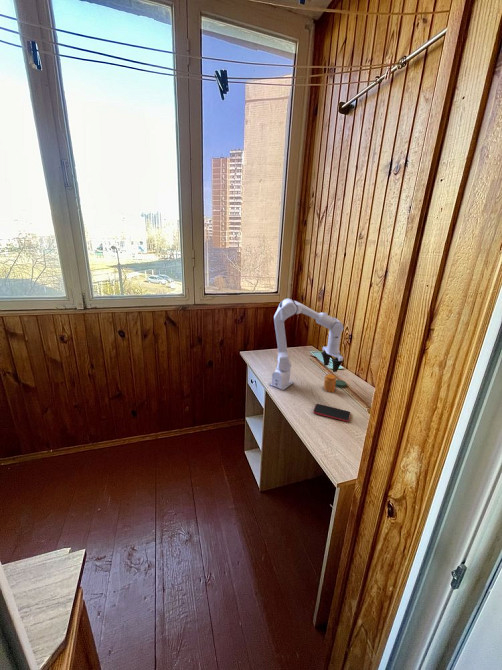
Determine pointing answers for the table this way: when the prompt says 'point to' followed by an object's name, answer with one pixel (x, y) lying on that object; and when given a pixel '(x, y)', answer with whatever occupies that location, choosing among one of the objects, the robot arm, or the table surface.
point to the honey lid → (340, 384)
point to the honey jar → (329, 383)
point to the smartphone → (332, 412)
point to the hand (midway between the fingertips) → (330, 368)
